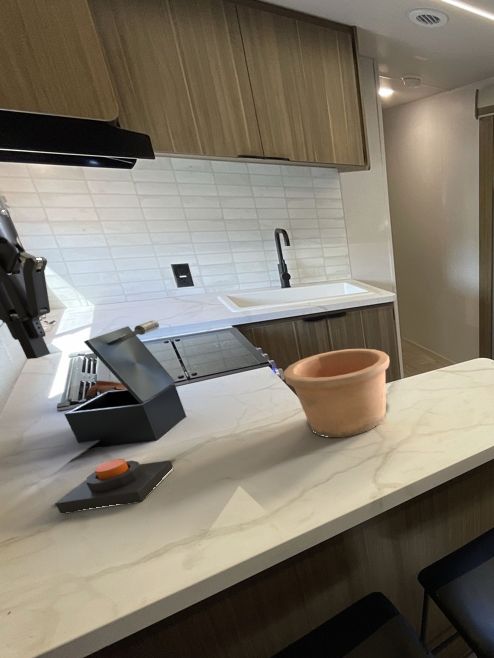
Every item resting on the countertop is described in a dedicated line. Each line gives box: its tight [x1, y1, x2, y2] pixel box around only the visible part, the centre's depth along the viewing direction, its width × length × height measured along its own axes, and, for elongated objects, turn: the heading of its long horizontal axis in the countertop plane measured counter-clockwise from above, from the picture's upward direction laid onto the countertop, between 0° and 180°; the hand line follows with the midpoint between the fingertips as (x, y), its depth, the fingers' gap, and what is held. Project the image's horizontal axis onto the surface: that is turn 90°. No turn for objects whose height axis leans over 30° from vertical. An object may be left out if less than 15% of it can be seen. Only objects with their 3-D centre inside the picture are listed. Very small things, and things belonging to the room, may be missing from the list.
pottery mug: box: [85, 380, 126, 403], centre depth 109 cm, size 12×10×8 cm
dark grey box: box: [64, 383, 187, 450], centre depth 92 cm, size 15×13×9 cm
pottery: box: [283, 348, 390, 438], centre depth 91 cm, size 22×22×14 cm
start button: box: [94, 458, 129, 480], centre depth 70 cm, size 4×4×2 cm
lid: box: [83, 320, 176, 404], centre depth 89 cm, size 15×13×9 cm
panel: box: [54, 460, 174, 514], centre depth 71 cm, size 12×10×4 cm
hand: (38, 356), depth 71 cm, fingers closed
